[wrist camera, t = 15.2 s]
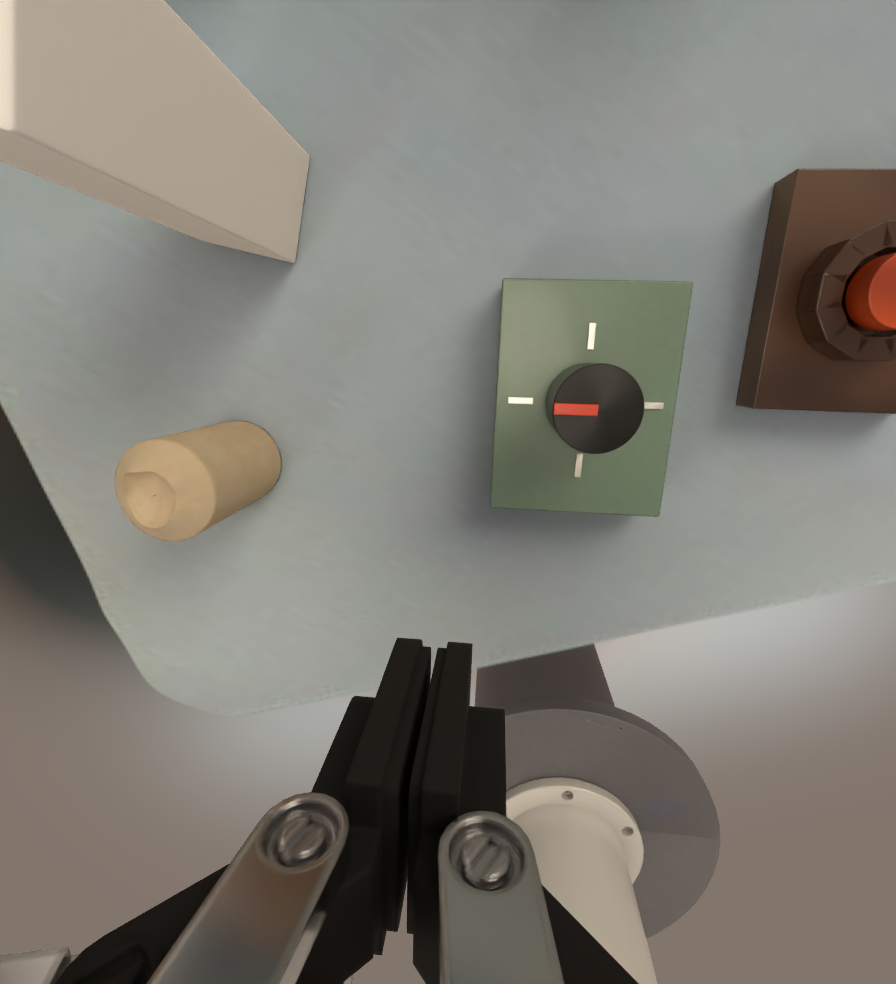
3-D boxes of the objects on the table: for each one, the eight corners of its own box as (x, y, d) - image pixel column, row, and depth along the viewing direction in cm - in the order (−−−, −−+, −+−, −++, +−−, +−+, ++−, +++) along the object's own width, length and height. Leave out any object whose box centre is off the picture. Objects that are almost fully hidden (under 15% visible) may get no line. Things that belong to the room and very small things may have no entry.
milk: (204, 242, 31) (-419, 2, 10) (214, 131, 30) (-506, -430, 9) (298, 264, 31) (-140, 67, 10) (313, 154, 29) (-174, -366, 8)
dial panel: (645, 503, 33) (660, 518, 30) (490, 495, 34) (490, 508, 31) (674, 289, 29) (695, 280, 26) (502, 285, 30) (502, 277, 27)
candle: (189, 443, 35) (71, 475, 25) (253, 405, 34) (155, 424, 24) (233, 511, 36) (136, 568, 26) (297, 477, 35) (219, 522, 25)
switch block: (894, 410, 30) (952, 418, 26) (735, 404, 31) (769, 411, 27) (952, 183, 27) (1028, 154, 23) (774, 183, 28) (819, 154, 24)
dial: (629, 363, 28) (651, 365, 24) (620, 443, 29) (640, 457, 25) (548, 361, 28) (556, 362, 24) (542, 440, 29) (549, 453, 25)
